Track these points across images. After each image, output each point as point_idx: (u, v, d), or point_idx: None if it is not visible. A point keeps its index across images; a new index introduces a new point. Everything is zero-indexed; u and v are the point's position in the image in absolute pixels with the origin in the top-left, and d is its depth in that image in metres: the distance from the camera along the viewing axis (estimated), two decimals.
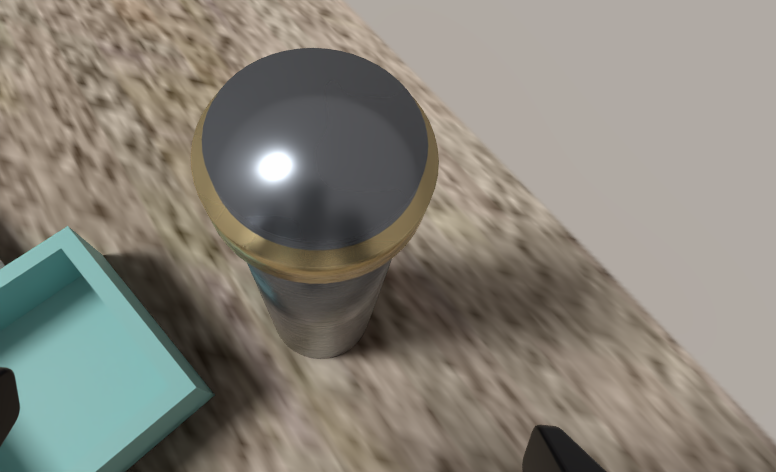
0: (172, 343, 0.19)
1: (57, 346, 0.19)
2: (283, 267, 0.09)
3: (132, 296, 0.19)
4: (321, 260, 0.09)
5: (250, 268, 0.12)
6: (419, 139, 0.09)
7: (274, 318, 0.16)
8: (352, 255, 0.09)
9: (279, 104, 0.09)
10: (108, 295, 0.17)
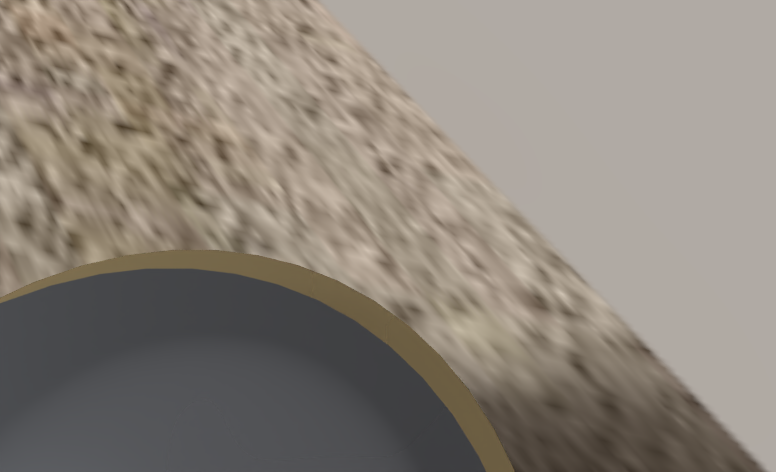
0: None
1: None
2: None
3: None
4: None
5: None
6: None
7: None
8: None
9: None
10: None
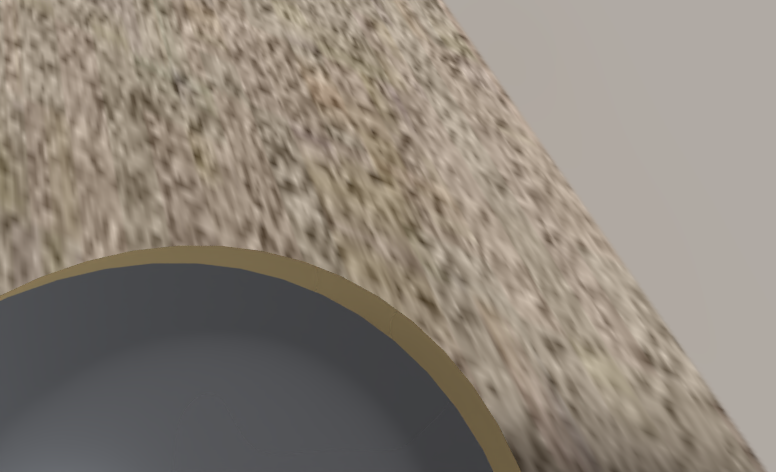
0: None
1: None
2: None
3: None
4: None
5: None
6: None
7: None
8: None
9: None
10: None
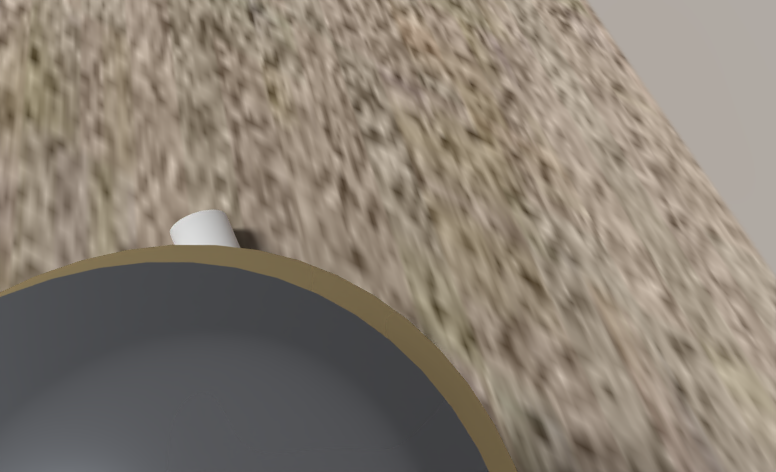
0: None
1: None
2: None
3: None
4: None
5: None
6: None
7: None
8: None
9: None
10: None
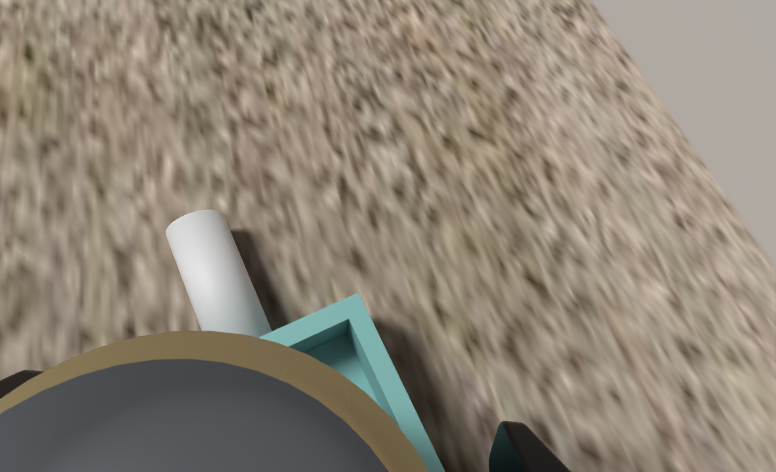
0: None
1: None
2: None
3: None
4: None
5: None
6: None
7: None
8: None
9: None
10: (394, 394, 0.14)
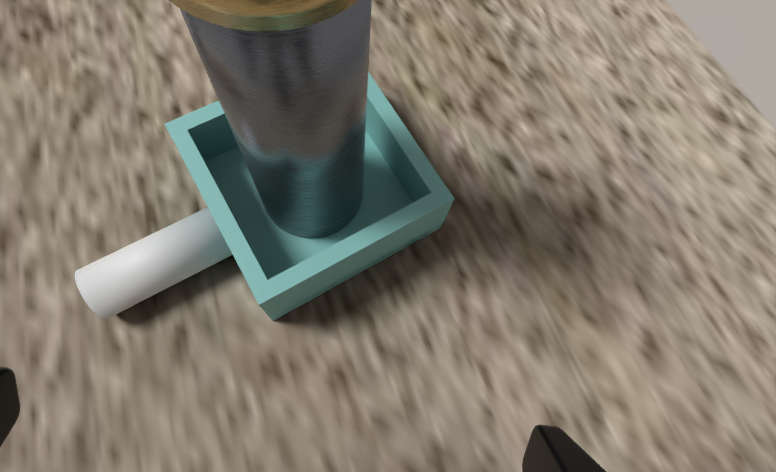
0: None
1: None
2: None
3: None
4: None
5: (213, 79, 0.11)
6: None
7: (256, 175, 0.15)
8: None
9: None
10: (382, 107, 0.19)
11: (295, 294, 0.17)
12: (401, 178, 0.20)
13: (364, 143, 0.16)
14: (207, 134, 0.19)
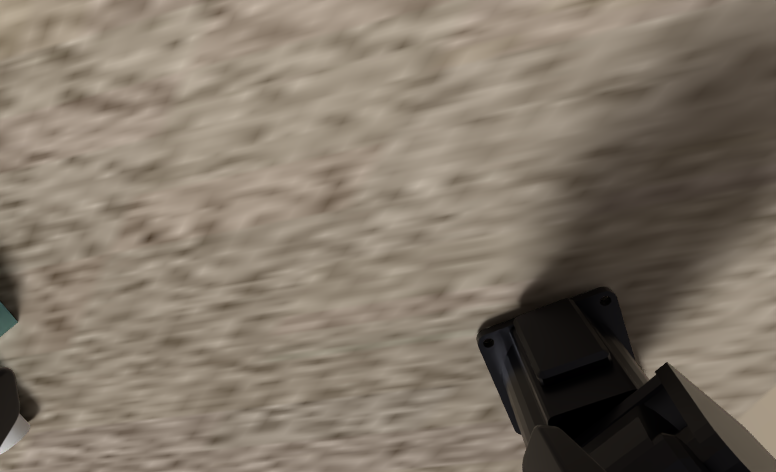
0: None
1: None
2: None
3: None
4: None
5: None
6: None
7: None
8: None
9: None
10: None
11: None
12: None
13: None
14: None
